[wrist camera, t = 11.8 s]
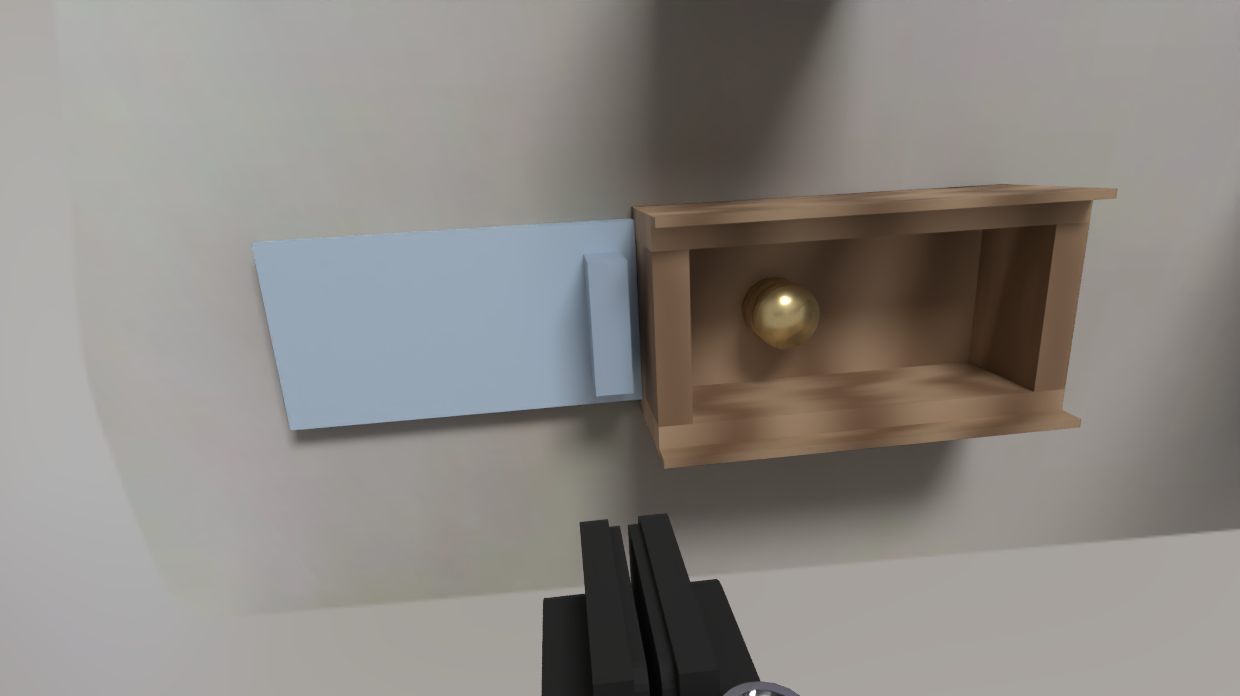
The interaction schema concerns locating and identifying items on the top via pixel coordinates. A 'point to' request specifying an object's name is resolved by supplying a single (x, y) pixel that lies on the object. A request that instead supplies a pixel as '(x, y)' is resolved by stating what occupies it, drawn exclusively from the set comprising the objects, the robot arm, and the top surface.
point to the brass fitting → (780, 312)
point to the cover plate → (452, 321)
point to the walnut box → (860, 319)
